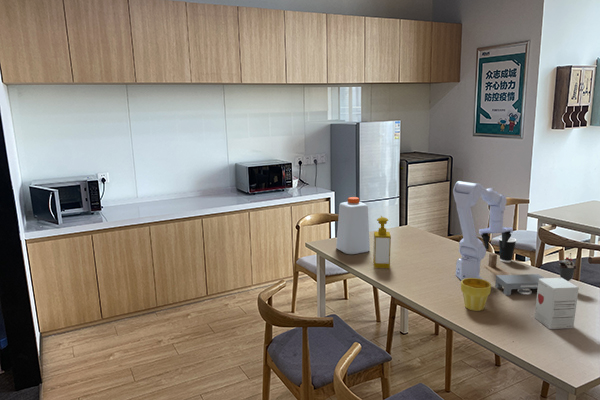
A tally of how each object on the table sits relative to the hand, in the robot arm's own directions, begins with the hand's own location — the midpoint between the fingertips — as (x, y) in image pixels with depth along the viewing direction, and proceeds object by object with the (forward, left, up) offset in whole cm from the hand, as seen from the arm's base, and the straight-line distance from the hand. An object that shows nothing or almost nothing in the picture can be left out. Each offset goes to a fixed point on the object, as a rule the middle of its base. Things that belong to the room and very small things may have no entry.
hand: (495, 248), depth 207 cm
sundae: (+18, -26, -10) cm, 33 cm away
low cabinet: (0, -26, -10) cm, 28 cm away
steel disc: (0, -28, -10) cm, 29 cm away
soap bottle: (-50, +10, -10) cm, 52 cm away
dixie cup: (+11, +9, -10) cm, 17 cm away
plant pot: (-26, -40, -10) cm, 49 cm away
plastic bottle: (-60, +32, -10) cm, 69 cm away
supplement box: (-4, -54, -10) cm, 55 cm away
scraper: (0, -9, -10) cm, 14 cm away
